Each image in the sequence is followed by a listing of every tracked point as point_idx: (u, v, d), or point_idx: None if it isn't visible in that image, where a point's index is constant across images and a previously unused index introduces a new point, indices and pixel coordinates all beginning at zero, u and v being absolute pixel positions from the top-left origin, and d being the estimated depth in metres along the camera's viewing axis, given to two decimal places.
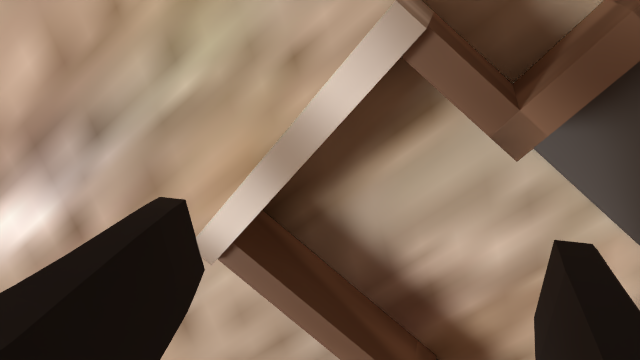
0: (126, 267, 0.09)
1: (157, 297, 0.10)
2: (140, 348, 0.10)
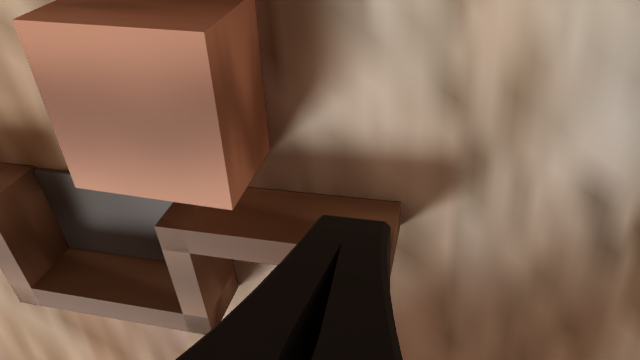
0: (322, 296, 0.08)
1: None
2: None
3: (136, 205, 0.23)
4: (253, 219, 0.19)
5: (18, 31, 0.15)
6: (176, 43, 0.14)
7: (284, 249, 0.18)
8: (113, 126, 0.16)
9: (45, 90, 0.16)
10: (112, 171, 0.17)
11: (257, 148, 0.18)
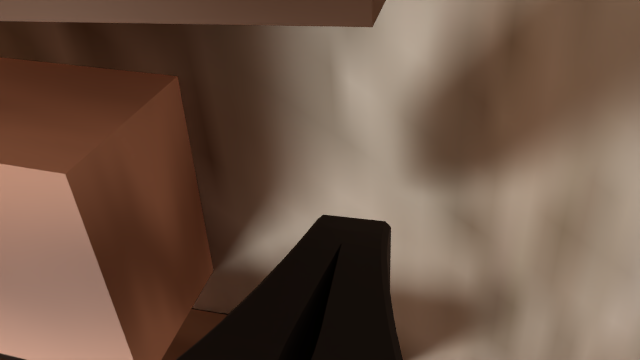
0: (322, 296, 0.08)
1: None
2: None
3: None
4: None
5: None
6: (27, 184, 0.09)
7: None
8: None
9: None
10: None
11: (191, 281, 0.13)
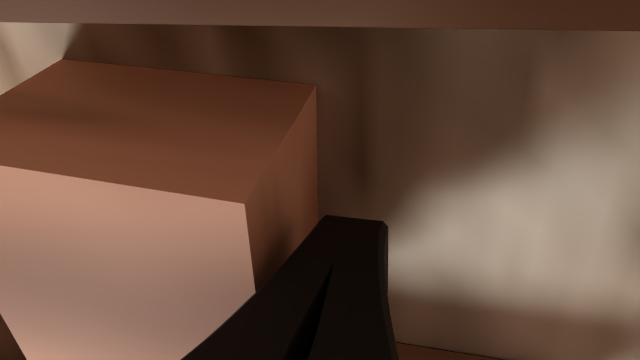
0: (326, 297, 0.08)
1: None
2: None
3: None
4: None
5: None
6: (193, 214, 0.08)
7: None
8: (84, 307, 0.10)
9: None
10: (84, 357, 0.11)
11: None
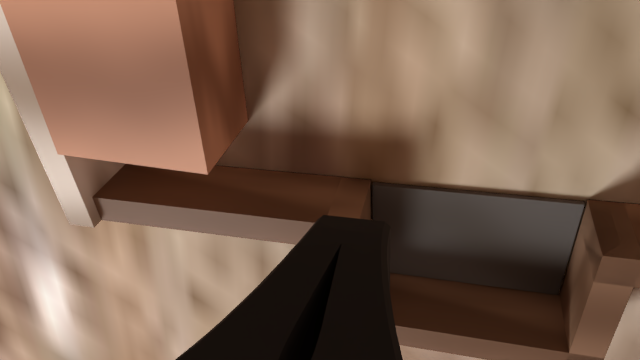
0: (322, 296, 0.08)
1: None
2: None
3: (498, 225, 0.20)
4: None
5: None
6: (149, 7, 0.14)
7: None
8: (91, 91, 0.17)
9: (26, 56, 0.17)
10: (92, 137, 0.18)
11: (234, 118, 0.19)
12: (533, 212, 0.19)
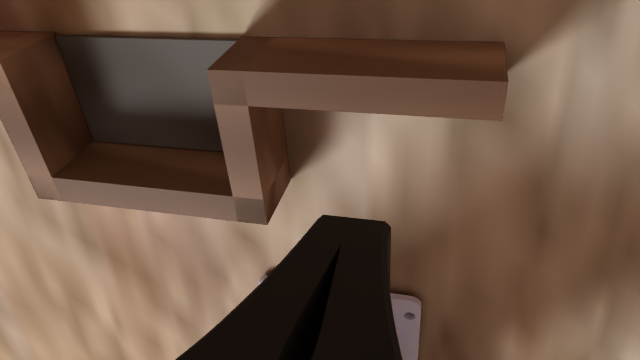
0: (322, 296, 0.08)
1: None
2: None
3: (175, 74, 0.20)
4: (327, 60, 0.16)
5: None
6: None
7: (369, 87, 0.15)
8: None
9: None
10: None
11: None
12: (198, 55, 0.19)
